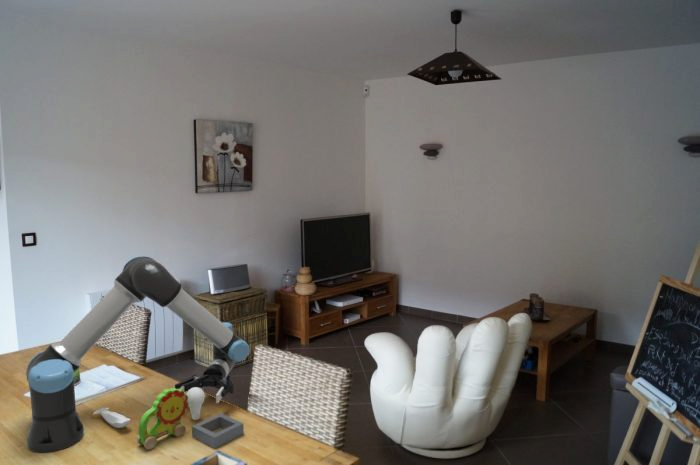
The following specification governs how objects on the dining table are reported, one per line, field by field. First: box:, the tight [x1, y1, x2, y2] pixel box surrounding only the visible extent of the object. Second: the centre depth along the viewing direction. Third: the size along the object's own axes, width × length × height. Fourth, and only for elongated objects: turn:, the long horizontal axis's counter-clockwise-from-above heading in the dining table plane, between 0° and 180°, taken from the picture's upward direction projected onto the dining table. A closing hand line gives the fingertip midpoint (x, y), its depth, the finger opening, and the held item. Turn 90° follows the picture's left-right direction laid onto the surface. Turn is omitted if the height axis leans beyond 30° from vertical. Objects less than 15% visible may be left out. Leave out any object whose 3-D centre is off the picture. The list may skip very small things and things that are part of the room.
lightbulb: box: [185, 387, 206, 421], centre depth 176 cm, size 6×6×11 cm
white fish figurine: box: [92, 407, 132, 429], centre depth 174 cm, size 6×18×4 cm, turn 50°
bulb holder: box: [191, 413, 245, 450], centre depth 166 cm, size 11×11×4 cm
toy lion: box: [136, 387, 189, 450], centre depth 163 cm, size 16×5×15 cm, turn 141°
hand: (196, 398), depth 175 cm, fingers open, 13 cm apart
